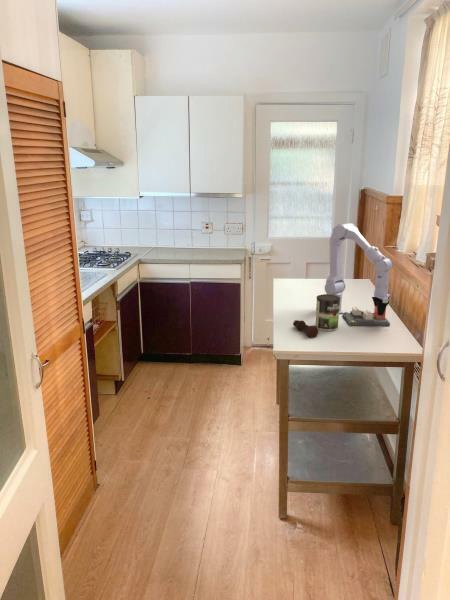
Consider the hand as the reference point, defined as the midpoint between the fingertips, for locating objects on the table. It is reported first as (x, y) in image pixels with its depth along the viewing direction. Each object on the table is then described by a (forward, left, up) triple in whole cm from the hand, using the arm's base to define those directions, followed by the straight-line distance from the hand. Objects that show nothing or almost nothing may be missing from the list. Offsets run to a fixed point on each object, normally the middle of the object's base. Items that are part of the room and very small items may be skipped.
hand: (379, 313), depth 222 cm
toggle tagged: (-5, 0, -3) cm, 6 cm away
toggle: (-9, +7, -3) cm, 11 cm away
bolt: (-36, -13, -5) cm, 39 cm away
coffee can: (-25, -7, -5) cm, 26 cm away
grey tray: (-5, +3, -4) cm, 7 cm away
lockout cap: (0, 0, -2) cm, 2 cm away
